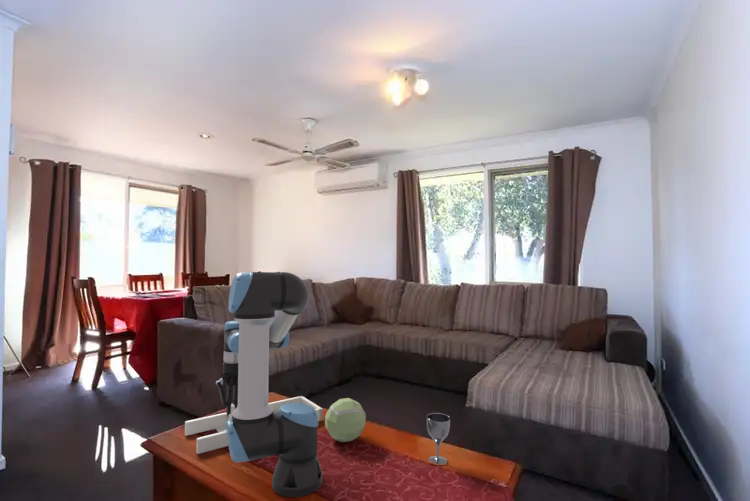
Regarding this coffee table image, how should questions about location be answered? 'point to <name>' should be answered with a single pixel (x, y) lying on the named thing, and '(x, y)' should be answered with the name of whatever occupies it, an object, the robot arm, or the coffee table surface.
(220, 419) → the trap lane
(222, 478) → the coffee table surface
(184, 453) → the coffee table surface
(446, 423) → the wine glass
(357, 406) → the tennis ball
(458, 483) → the coffee table surface
